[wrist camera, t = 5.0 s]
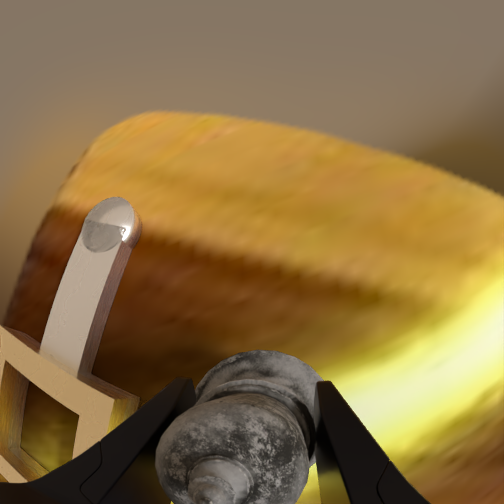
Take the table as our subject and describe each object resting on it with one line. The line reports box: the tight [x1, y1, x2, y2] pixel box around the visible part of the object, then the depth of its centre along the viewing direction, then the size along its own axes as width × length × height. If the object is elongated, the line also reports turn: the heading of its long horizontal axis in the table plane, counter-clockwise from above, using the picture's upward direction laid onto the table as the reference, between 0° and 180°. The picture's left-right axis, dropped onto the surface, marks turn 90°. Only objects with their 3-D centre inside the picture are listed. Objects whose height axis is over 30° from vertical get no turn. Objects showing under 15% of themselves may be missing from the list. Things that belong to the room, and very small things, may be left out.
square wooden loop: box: [0, 325, 128, 483], centre depth 11 cm, size 24×12×3 cm, turn 165°
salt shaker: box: [155, 350, 324, 504], centre depth 8 cm, size 6×6×12 cm
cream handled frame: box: [8, 197, 142, 477], centre depth 16 cm, size 24×12×2 cm, turn 165°
